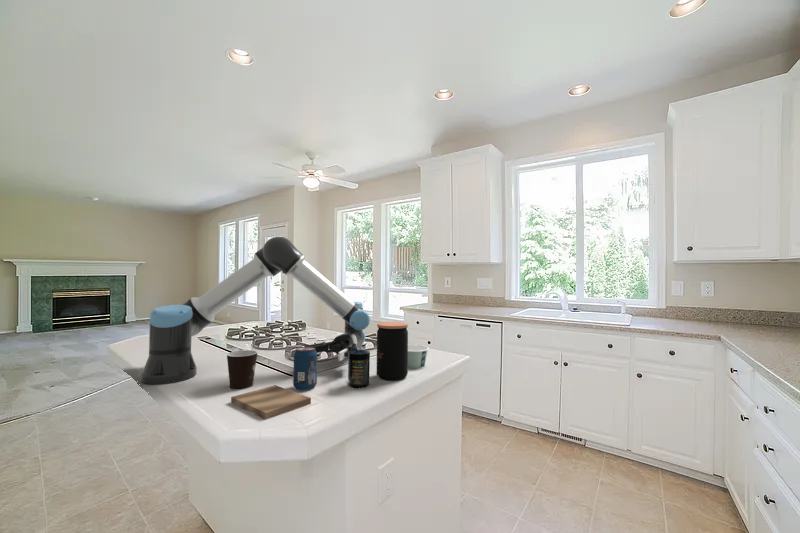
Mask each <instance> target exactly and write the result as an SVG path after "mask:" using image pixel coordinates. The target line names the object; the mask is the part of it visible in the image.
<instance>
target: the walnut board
mask: <svg viewBox="0 0 800 533" xmlns="http://www.w3.org/2000/svg"><path fill="white" fill-rule="evenodd" d="M311 400H312V398H311V397H309V396H306V395H304V394H302V393H299V392H296V391H293V390H290V389H287V388H284V387H281V386H280V385H276V384H275V385H271V386H266V387H263V388H259V389H256V390H252V391H248V392H244V393H241V394H237V395H233V396H230V403H231V404H233V405H235V406H237V407H239V408H241V409H244V410H245V411H247V410H248V411H247V412H249V411H250V412H249V413H251V412H252V414H253V413H254V415H255V416H258V417H260V418H262V419H264V420H268V419H271V418H273V417H277V416H279V415H283V414H285V413H288V412H291V411H294V410H297V409H299V408H303V407H304V406H305V407H306V406H308V405H311V404H312V401H311Z"/></svg>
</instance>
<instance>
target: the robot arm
mask: <svg viewBox="0 0 800 533" xmlns="http://www.w3.org/2000/svg"><path fill="white" fill-rule="evenodd" d="M253 255H254V256H253V258H252V259H251V260H250V261H248V262H247V263H246V264H244V265H243V266H242V267H240V268H239V269H237V270H236V271H235V272H233V273H231V274H230V275H229V276H228V277H226V278H225V279H223V280H222V281H220V282H219V283H217V284H216V285H215V286H213V287H212V288H211V289H209V290H208V291H207V292H205V293H204V294H202V295H201V296H199V297H194V296H192V297H190V298H189V299H188V300H187V301H185V302H183V303H181V304H171V305H162V306H157V307H155V308H154V309H152V310H151V311H150V316H149V319H148V322H149V339H148V340H149V341H148V342H149V343H148V344H149V345H148V358H147V360H146V362H145V364H144V367H143V370H142V372H141V376H140V378H141V379H140V380H141V383H143V384H147V385H163V384H164V385H165V384H170V383H171V384H172V383H177V382H181V381H185V380H189V379H191V378H194V377H195V376H196V375H197V365H196V362H195V360H194V356H193V353H192V337H193V336H196V335H198V334H199V333H201V332H202V331H203V329H205V328H206V327H208V325H210V324H211V323H213V322H214V321H215V316H216V315H217V314H218V313H220V312H221V311H222V310H224V309H225V308H226V307H228V306H229V305H230V304H232V303H233V302H234V301H236V300H237V299H239V298H240V297H241V296H243V295H244V294H245V293H248V292H249V290H251V289H252V288H254V287H255V286H257V285H258V284H259V283H261V282H262V281H263V280H265V279H267V277H276V276H277V275H278V274H280V273H281V272H282V274H284V275H286V276H291V277H292V278H293V279H295V280H296V281H297V282H298V283H299V284H301V285H302V286H303V287H304V288H305V289H306V290H308V291H309V292H310V293H312V294H313V295H314V296H315V297H316V298H317V299H319V300H320V301H321V302H322V303H323V304H324V305H326V306H327V307H328V308H329V309H331V310H332V311H333V312H334V313H336V315H338V316H339V317H340V318H342V319H343V320H344V333H342V334H339V335H337V336H336V337H335V338H333V340H332V341H331V342H326V341H323V342H318V343H317V342H316V343H312V344H307V345H304V346H303V347H305V346H310V347H315V350H316V352H317V354H318V353H324V352H325V353H336V354H337V355H338V356H337V357H338V358H337V360H338V362H342V361H343V360H344V359H346V358H348V352H349V351H352V350H358V348H360V346H362V345H363V344H364V342H365V341H366V334H365V331H364V330H365V329H367V328H368V327H369V325H370V323H371V319H370V318H371V317H370V315H369V313H368V312H367V311H366V310H364V308H363V306H364V305H363V303H362V301H354V300H352V299H351V298H350V297H349V296H347V295H346V294H345V293H344V292H343V291H342V290H341V289H339V287H337V286H335V284H333V282H331V281H330V280H329V279H328V278H327V277H326V276H324V275H323V274H322V273H320V271H319V270H318V269H316V268H315V267H314V266H313V265H312V264H310V263H309V262H308V261H307V260H306V259H305V255H304V254H302V253H301V252H300V250H299V249H297V247H296V246H295V245H294V244H293V242H292V241H291V240H289V239H288V238H287V237H284V236H274V237H271V238H269V239H268V240H267V241H266V242H265V243H264V245H263V247H262V248H260V249H258V250H257V251H256V252H255V253H254V254H253Z"/></svg>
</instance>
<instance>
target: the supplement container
mask: <svg viewBox="0 0 800 533" xmlns="http://www.w3.org/2000/svg"><path fill="white" fill-rule="evenodd" d="M347 358H348V362H347V365H348V367H347V370H348V371H347V374H348V375H347V384H348V386H349V388H351V389H358V390H359V389H364V388H368V386H369V384H370V366H371V365H370V364H371V363H370V360H371V359H370V358H371V351H369V350H367V349H357V350H352V351H349V352H348V357H347Z"/></svg>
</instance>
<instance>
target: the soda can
mask: <svg viewBox="0 0 800 533" xmlns="http://www.w3.org/2000/svg"><path fill="white" fill-rule="evenodd" d="M304 346H305V345H304ZM304 346H299V347H297V348H295V351H294V353H293V371H292V372H293V375H292V377H293V378H292V379H293V380H292V381H293V382H292V384H293V387H294V389H295V390H296V391H298V390H299V392H306V391H311V389H312V390H313V389H315V387H316V386H317V384H318V353H317V352H316V350H315V347H310V346H305V347H304Z"/></svg>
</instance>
